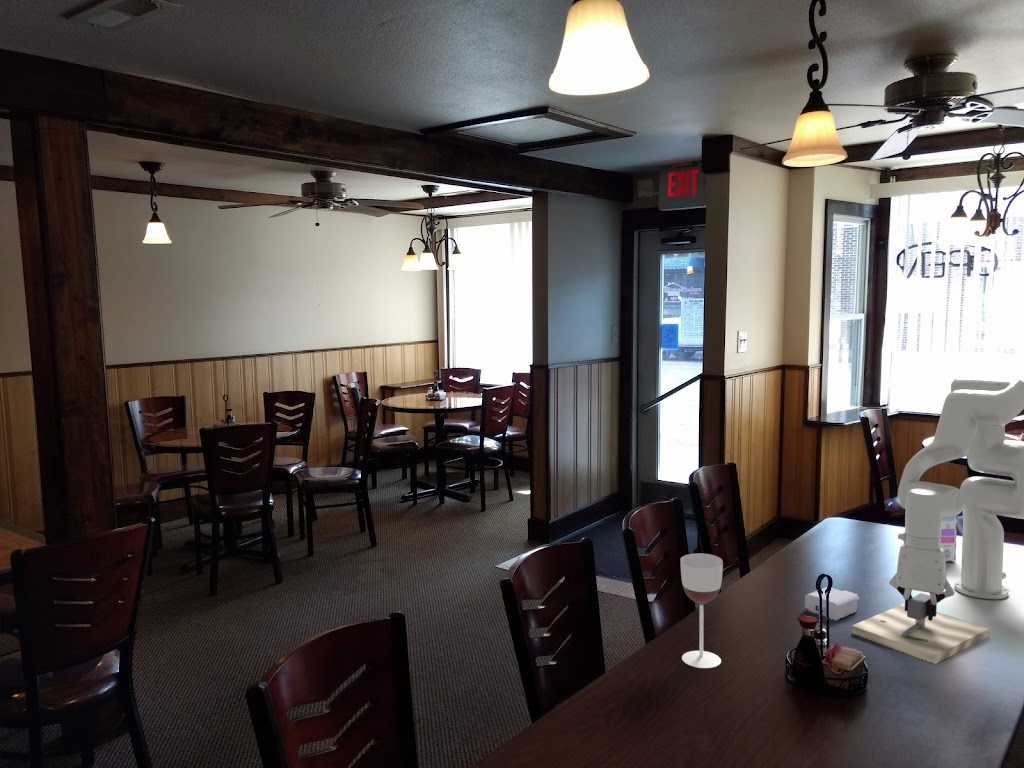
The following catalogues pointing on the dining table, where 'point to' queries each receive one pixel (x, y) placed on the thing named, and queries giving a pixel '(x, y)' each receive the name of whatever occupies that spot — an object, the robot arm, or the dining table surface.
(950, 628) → the wooden cutting board
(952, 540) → the candy box
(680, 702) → the dining table surface
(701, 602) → the wineglass
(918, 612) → the key
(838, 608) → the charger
